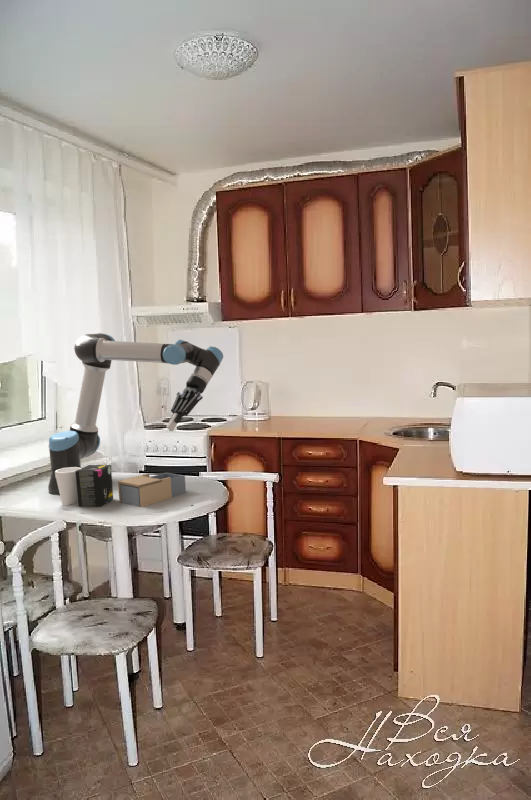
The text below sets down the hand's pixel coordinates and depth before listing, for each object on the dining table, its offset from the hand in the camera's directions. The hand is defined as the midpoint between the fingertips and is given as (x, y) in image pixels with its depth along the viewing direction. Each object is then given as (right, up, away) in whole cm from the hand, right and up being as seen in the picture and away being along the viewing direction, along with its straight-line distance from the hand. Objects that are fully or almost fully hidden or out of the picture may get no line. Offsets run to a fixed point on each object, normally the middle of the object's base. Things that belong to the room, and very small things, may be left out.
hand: (169, 428), depth 245 cm
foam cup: (-37, -28, -1) cm, 46 cm away
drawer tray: (-5, -27, -3) cm, 27 cm away
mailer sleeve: (-8, -27, -6) cm, 29 cm away
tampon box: (-26, -28, -7) cm, 39 cm away
